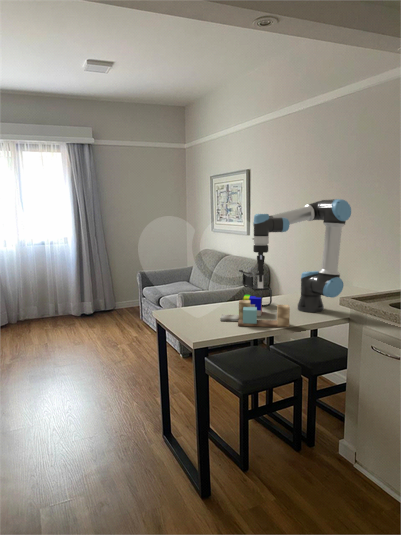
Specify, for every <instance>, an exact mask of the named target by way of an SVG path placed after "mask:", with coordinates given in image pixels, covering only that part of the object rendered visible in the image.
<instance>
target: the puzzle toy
mask: <svg viewBox="0 0 401 535" xmlns="http://www.w3.org/2000/svg"><path fill="white" fill-rule="evenodd" d="M242 300H250V307H257V317H262V313H263V307H262V305H263V298H262V295H261V294H244V296H243V298H242Z"/></svg>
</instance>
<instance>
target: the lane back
mask: <svg viewBox="0 0 401 535" xmlns="http://www.w3.org/2000/svg"><path fill="white" fill-rule="evenodd" d="M243 307H250V300H243V299H239V300H238V314H221V315H220V317H219V320H220V321H225V322H226V321H228V322H238V321H239V319H243Z"/></svg>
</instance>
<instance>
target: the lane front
mask: <svg viewBox="0 0 401 535" xmlns="http://www.w3.org/2000/svg"><path fill="white" fill-rule="evenodd" d="M290 310H291V308H290V304H277V305H276V319H275V320H273V319H257V324H247V323H243V319H239V321H237V326H238V327H263V328H264V327H267V328H268V327H271V328H278V327H283V328H285V327H287V328H289V327H290V312H291V311H290Z"/></svg>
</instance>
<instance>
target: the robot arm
mask: <svg viewBox="0 0 401 535" xmlns="http://www.w3.org/2000/svg"><path fill="white" fill-rule="evenodd" d="M351 214H352V207H351V205H350V203H349V202H348V201H347V200H346V199H340V198H334V199H321V200H318V201H315V202H311V203H308V204H305V205H304V206H303V207H299V208H295V209H291V210H288V211H284V212H283V211H282V212H279V213H275V214H271V215H270V214H269V213H255V214H254V216H253V222H252V223H253V224H252V225H253V237H252V238H251V239H252V241H253V246H252V247H253V253H257V255H256V262H257V263H256V264H257V273H256V276H257V285H258V288H263V287H264V274H265V273H264V271H265V269H264V264H265V260H266V259H265V255H264V254H265V253H269V245H268V244H269V242H270V241H269V237H270V236H269V234H270V233H286V232H288V230H289V229H290V226H291V225H293V224H298V223H301V222H304V221H308V222H312V221H323V225H324V226H325V232H324V242H323V251H322V261H321V269H320V270H311V271H309V270H308V271H303V272H302V273H301V274H300V298H299V300H298V303H297V310H298V311H301V312H304V313H305V312H306V313H320V312H324V309H325V306H324V302H323V300H322V299H323V298H322V296H324V297H325V298H336V297H338V296H339V295H340V294H341V293H342V292H343V289H344V281H343V279H342V278H341V273H340V272H339V270H338V269H339V259H340V251H341V250H340V249H341V243H342V241H341V240H342V239H341V238H342V233H343V231H342V229H343V227H344V226H345V225H346V223H347V222H346V221H348V220H349V219H350V218H351V216H352V215H351Z"/></svg>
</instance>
